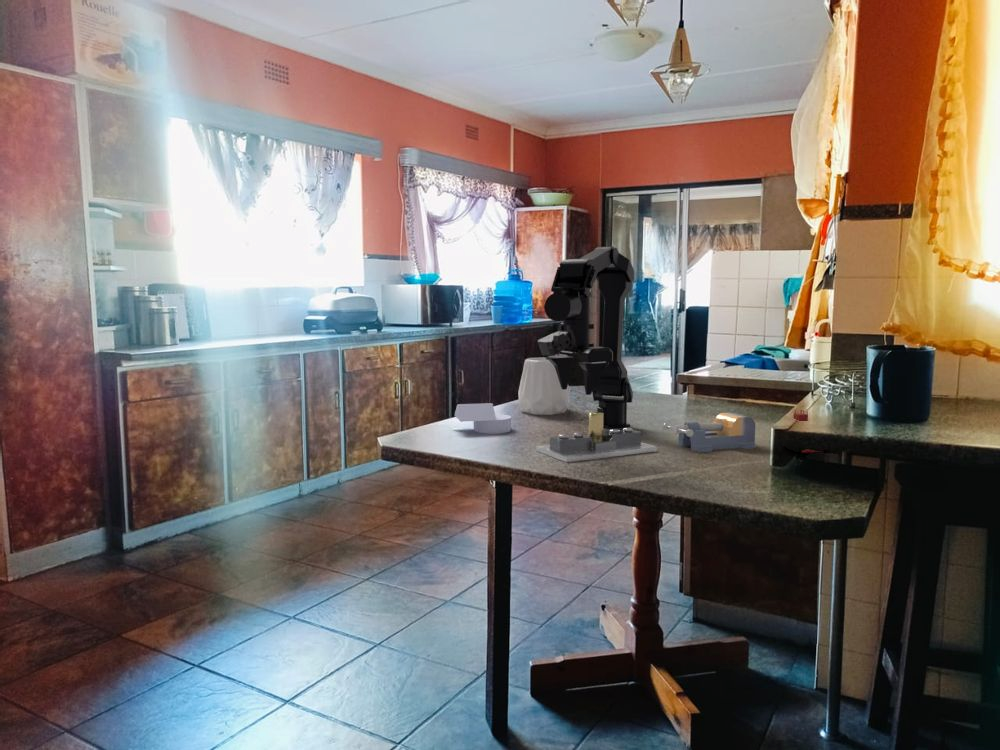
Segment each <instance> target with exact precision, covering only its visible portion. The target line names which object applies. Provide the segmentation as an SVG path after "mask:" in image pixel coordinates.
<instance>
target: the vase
mask: <svg viewBox="0 0 1000 750" xmlns="http://www.w3.org/2000/svg"><path fill="white" fill-rule="evenodd" d="M517 393H518V404H519V409H521V410H520V411H521V413H522V412H523V413H526V414H531V415H541V416H553V415H558V414H565V412H567V410H568V407H569V401H570V396H571V394H570V393H571V392H570V385H568V386H567V389H565V390H563V389H562V388H561V385H560V382H559V379H558V376H557V373H556V370H555V367H554V365H553V364H552V363H551V362H550V361H549V360H547V359H546V357H528V358H526V359H525V360H524V363H523V369H522V373H521V378H520V382H519V387H518V392H517Z"/></svg>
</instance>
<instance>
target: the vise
mask: <svg viewBox="0 0 1000 750" xmlns="http://www.w3.org/2000/svg"><path fill="white" fill-rule="evenodd" d="M662 428H663V430H667V431H668V430H669V429H670V430H672V433H673V434H675V435H677V434H678V441H677V445H678V446H679V447H690V450H691V451H694V452H698V453H710V452H713V450H724V449H726V450H728V449H729V450H731V449H745V450H754V449H756V446H757V445H756V422H755V420H754V419H753V418H752V417H750V416H747V415H743V414H738V413H735V412H728V411H727V412H719V414H718V415H717V416H716V417H715V419H714V421H712V422H711V423H710V422H707V423H699V422H698V421H686V422H685V423H684V424H683V425H681V424H680V425H679V424H678V425H677V424H676V425H673V426H672V425H670V423H669V422H664V423H662Z"/></svg>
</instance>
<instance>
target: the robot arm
mask: <svg viewBox="0 0 1000 750" xmlns="http://www.w3.org/2000/svg"><path fill="white" fill-rule="evenodd" d="M634 280H635V269H634V267H633V265H632V263H631V260H630V259H629V258H628V257H626V256H625V255H623V254H621V253H620V252H619V250H618V248H617V247H615V246H598V247H594V249H593V251H591V252H589V253H586V254H585V255H583V256H581V257H580V258H576V259H575V258H573V259H572V258H571V259H570V258H569V259H562V260H561V261H560V263H559V265H558V267H557V268H556V272H555V276H554V278H553V282H552V285H551V289H550V291H551V292H552V294H549V296H548V297H547V298H546V299H545V303H544V307H543V308H544V313H545V315H546V316H547V318H548V319H550V320H551V321H554V322H562V323H558V325H557V331H555V332H553V333H550V334H549V335H548V334H547V336H544V337H541V338H540V339H538V340H537V343H538V346H539V350H540V352H541V355H542V356H543V357H545V358H546V359H547V360H549V361H550V362H551V363H552V364H553V365H554V367H555V370H556V373H557V376H558V379H559V382H560V385H561V388H562V389H563V390H565V389H567V386H569V382H570V378H571V374H572V368H573V364H574V359H575V357H578V359H579V361H580V362H578V365H579V366H580V368H581V369H582V370H583V380H584V383H583V384H584V392H585V395H587V396H590V395H592V399H593V401H594V402H598V406H597V409H596V412H602V413H603V428H606V429H618V428H629V427H631V424H630V423H627V416H628V415H627V414H628V412H627V411H628V409H627V407H628V403H633V397H634V392H633V388H632V385H631V383H630V379H629V378H628V370H627V368H626V366H625V364H624V362H623V360H622V355H623V354H622V352H623V351H622V350H623V332H624V330H623V329H624V311H625V309H624V308H625V300H626V298H627V297H628V295H629V294H630V292H632V285H633V282H634ZM595 281H597V282H598V286H597V288H598V291H599V292H600V293H601V295H602V297H603V299H604V303H603V304H604V306H603V324H602V325H603V326H602V327H603V329H602V346H595V345H594V343H592V342H590V338H591V337H590V336H591V335H590V334H591V333H590V332H591V331H590V330H593V329H595V323H591V298H592V296H593V295H592V292H591V289H592V288H593V286H594V283H595Z"/></svg>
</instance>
